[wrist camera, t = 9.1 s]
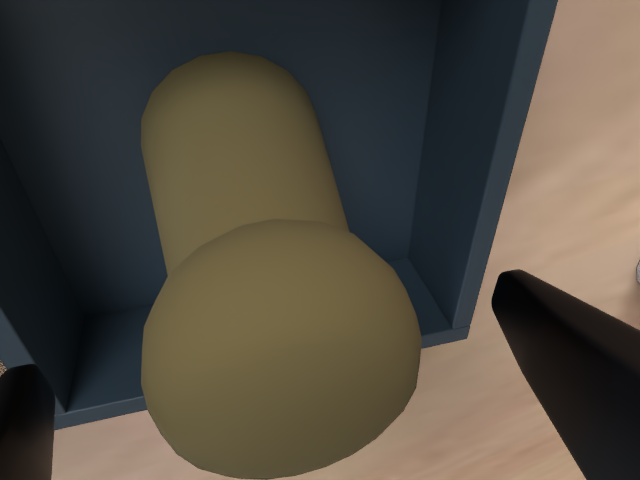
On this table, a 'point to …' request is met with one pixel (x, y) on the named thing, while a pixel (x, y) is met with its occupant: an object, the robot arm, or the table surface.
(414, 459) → the table surface
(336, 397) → the cork
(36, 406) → the robot arm
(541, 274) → the table surface
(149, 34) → the basin
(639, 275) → the coffee cup
